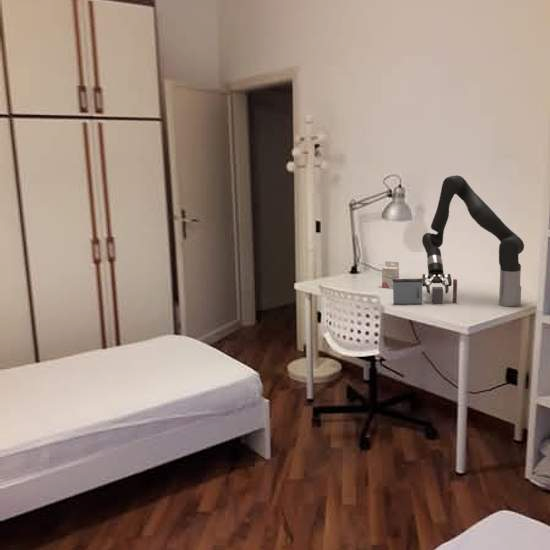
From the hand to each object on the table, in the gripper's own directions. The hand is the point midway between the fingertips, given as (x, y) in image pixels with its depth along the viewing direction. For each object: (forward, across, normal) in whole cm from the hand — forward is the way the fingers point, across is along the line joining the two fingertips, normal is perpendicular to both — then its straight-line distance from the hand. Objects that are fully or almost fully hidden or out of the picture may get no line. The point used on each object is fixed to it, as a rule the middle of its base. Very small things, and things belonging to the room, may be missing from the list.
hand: (437, 292), depth 288 cm
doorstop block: (+3, 0, +5) cm, 6 cm away
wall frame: (+3, -7, +5) cm, 9 cm away
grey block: (+4, -15, +3) cm, 16 cm away
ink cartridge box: (-23, -21, +31) cm, 44 cm away
